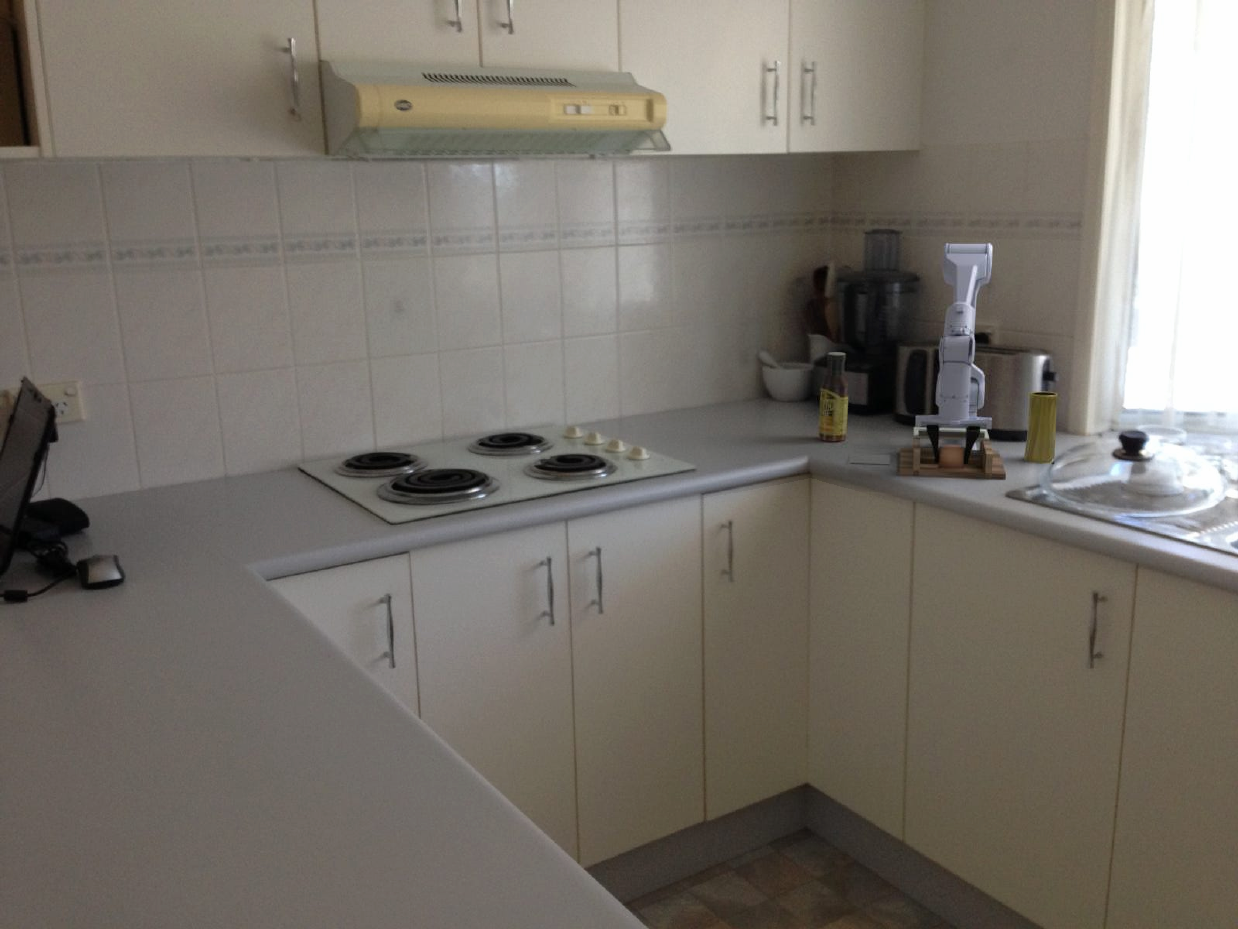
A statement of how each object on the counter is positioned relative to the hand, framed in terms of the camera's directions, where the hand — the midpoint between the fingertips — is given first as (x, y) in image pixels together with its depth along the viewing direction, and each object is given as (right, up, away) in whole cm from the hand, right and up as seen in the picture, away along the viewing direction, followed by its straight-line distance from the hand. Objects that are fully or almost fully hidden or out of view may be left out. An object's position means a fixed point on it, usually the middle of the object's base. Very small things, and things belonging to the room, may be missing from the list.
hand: (951, 462), depth 231 cm
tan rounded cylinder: (0, -1, 0) cm, 1 cm away
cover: (+2, +6, +8) cm, 10 cm away
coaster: (-14, 0, +9) cm, 17 cm away
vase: (+20, 0, +7) cm, 21 cm away
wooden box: (+1, -1, +4) cm, 4 cm away
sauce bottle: (-18, +5, +30) cm, 36 cm away
